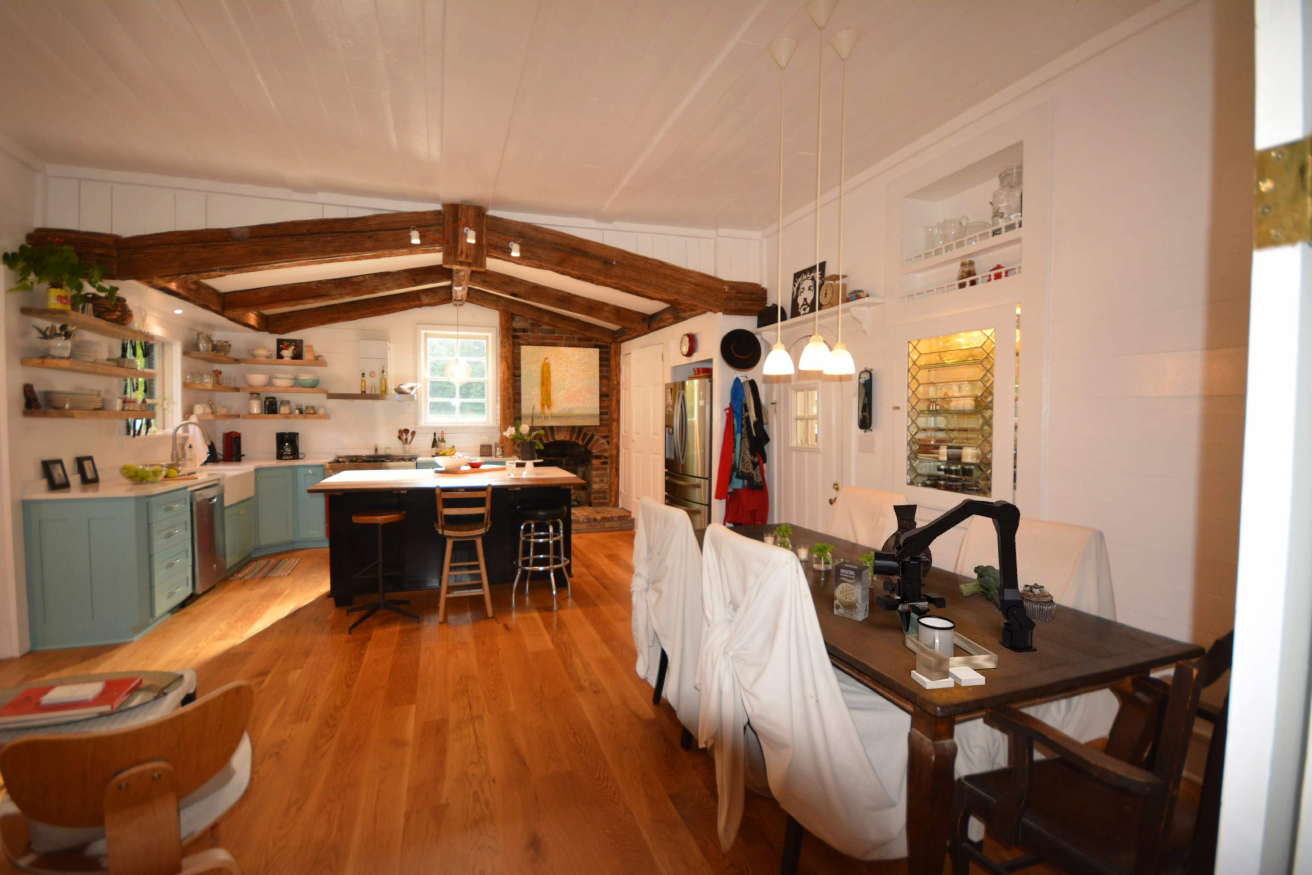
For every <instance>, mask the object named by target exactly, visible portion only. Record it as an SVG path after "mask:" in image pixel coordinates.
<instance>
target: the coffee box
mask: <svg viewBox="0 0 1312 875" xmlns="http://www.w3.org/2000/svg"><path fill="white" fill-rule="evenodd" d="M870 569H871V568H870V566H869V565H864V564H859V563H855V562H851V561H846V560H841V561H840V562H838V563H836V564H834V592H833V593H834V594H833V595H834V598H833V600H834V601H833V615H837V616H840V617H842V618H848V619H849V620H850V619H851V620H854V621H858V622H861V621H863V620H865V619H866V618H867V617H869V601H870V600H869V597H870V596H869V595H870Z"/></svg>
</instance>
